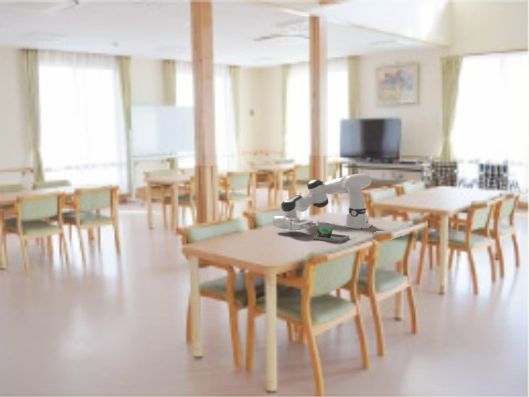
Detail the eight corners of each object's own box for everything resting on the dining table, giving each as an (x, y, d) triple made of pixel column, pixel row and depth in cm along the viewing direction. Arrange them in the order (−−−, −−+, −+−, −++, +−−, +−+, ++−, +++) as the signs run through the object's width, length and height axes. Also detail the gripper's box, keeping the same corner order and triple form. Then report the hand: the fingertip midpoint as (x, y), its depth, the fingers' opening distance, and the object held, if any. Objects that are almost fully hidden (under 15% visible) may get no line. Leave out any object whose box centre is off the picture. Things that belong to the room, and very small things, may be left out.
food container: (316, 238, 347) (319, 223, 344) (314, 234, 353) (317, 220, 350) (334, 240, 349) (337, 225, 346) (332, 236, 355) (335, 222, 352)
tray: (322, 235, 363) (322, 232, 362) (349, 238, 353) (349, 235, 353) (313, 239, 350) (313, 236, 350) (340, 242, 340) (340, 239, 340)
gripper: (301, 225, 373) (319, 227, 366) (287, 230, 356) (306, 233, 349) (301, 216, 372) (319, 218, 365) (287, 221, 355) (306, 223, 348)
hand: (312, 225), depth 357 cm, fingers open, 8 cm apart
